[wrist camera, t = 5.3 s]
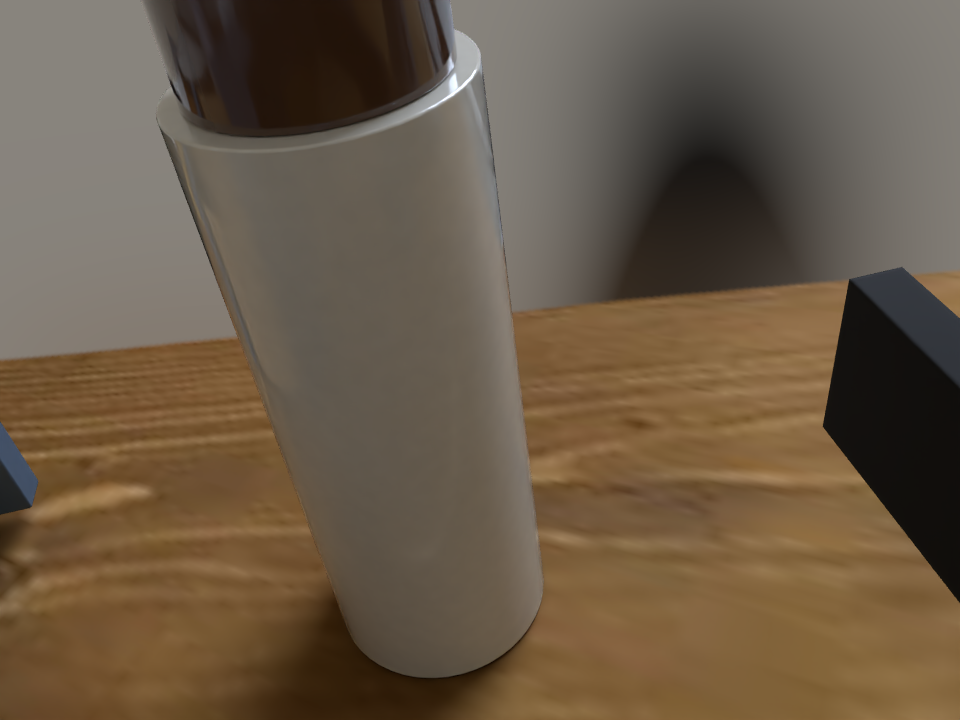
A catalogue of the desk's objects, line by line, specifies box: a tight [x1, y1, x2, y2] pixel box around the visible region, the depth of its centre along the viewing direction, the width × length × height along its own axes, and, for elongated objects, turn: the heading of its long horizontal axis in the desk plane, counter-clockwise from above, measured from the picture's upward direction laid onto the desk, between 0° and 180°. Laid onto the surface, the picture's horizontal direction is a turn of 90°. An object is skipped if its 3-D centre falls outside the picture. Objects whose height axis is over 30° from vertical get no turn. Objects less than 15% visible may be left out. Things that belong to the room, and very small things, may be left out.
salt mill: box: [141, 0, 544, 678], centre depth 18 cm, size 6×6×19 cm
